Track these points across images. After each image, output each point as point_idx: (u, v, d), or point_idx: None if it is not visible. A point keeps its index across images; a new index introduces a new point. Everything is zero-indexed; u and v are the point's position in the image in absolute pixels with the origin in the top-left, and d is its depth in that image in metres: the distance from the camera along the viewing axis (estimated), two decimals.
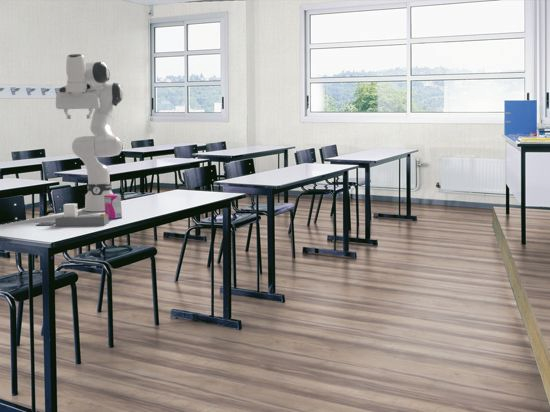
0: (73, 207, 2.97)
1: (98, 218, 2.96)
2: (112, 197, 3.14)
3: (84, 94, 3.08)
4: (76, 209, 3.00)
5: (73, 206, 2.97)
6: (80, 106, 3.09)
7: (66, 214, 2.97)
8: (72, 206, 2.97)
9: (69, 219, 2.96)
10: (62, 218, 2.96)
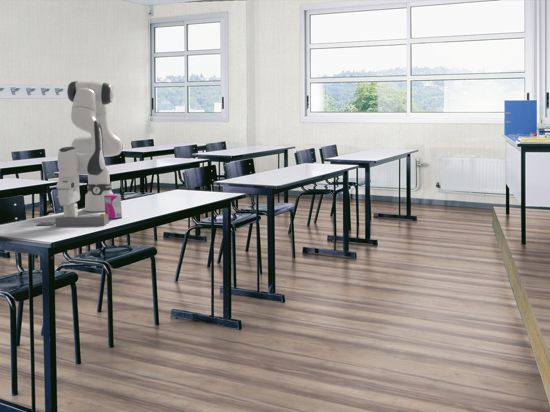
0: (73, 207, 2.97)
1: (98, 218, 2.96)
2: (112, 197, 3.14)
3: None
4: (76, 209, 3.00)
5: (73, 206, 2.97)
6: (75, 199, 3.01)
7: (66, 214, 2.97)
8: (72, 206, 2.97)
9: (69, 219, 2.96)
10: (62, 218, 2.96)
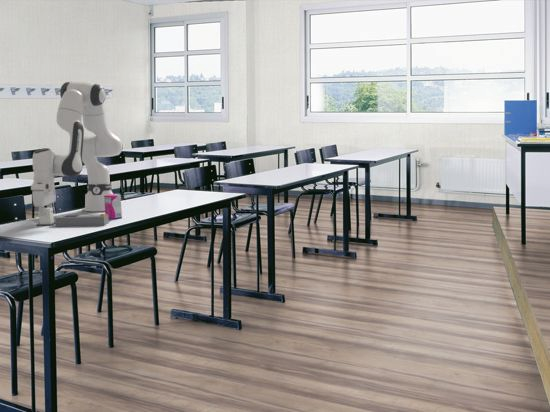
0: (48, 211, 2.99)
1: (98, 218, 2.96)
2: (112, 197, 3.14)
3: None
4: (52, 213, 3.02)
5: (48, 210, 2.99)
6: (50, 201, 3.03)
7: (42, 218, 3.00)
8: (47, 210, 2.99)
9: (69, 219, 2.96)
10: (62, 218, 2.96)
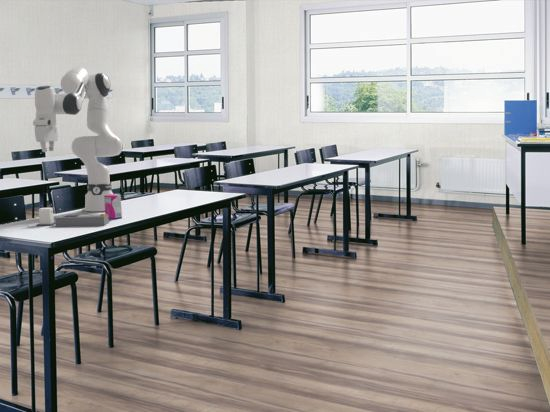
0: (48, 211, 2.99)
1: (98, 218, 2.96)
2: (112, 197, 3.14)
3: None
4: (52, 213, 3.02)
5: (48, 210, 2.99)
6: (52, 138, 3.07)
7: (42, 218, 3.00)
8: (47, 210, 2.99)
9: (69, 219, 2.96)
10: (62, 218, 2.96)
